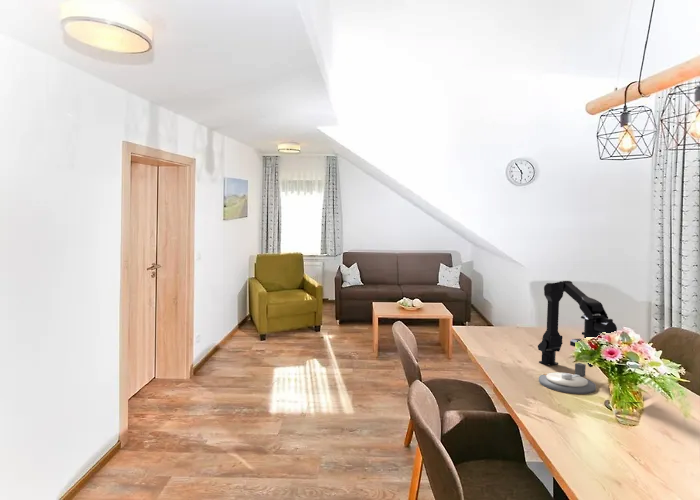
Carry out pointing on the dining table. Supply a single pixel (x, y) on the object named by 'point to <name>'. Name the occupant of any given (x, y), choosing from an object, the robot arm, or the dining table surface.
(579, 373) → the dial
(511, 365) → the dining table surface
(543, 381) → the dial base
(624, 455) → the dining table surface
